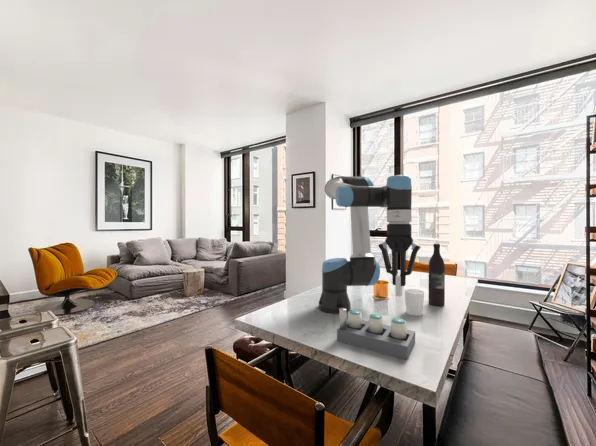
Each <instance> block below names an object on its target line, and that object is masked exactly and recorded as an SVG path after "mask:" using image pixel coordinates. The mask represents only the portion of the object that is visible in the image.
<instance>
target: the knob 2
mask: <svg viewBox="0 0 596 446" xmlns="http://www.w3.org/2000/svg"><path fill="white" fill-rule="evenodd" d="M390 326H391V336H392V337H394V338H398V339H404V338H406V329H407V321H406V320H405V319H403V318H400V317H395V318H392V319H391V320H390Z"/></svg>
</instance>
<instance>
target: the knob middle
mask: <svg viewBox="0 0 596 446" xmlns="http://www.w3.org/2000/svg"><path fill="white" fill-rule="evenodd" d="M368 321H369V331H370V332H372V333H382V332H383V325H384V316H383V315H381V314H379V313H372V314H369V315H368Z"/></svg>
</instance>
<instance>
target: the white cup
mask: <svg viewBox="0 0 596 446" xmlns="http://www.w3.org/2000/svg"><path fill="white" fill-rule="evenodd" d="M424 299H425V292H424V290H421V289H416V288H406V289H404V300H405V301H404V302H405V313H406V314H407V315H410V316H413V317H414V316H415V317H418V316H419V317H420V316H422V315H423V311H424Z"/></svg>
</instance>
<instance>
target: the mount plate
mask: <svg viewBox="0 0 596 446" xmlns="http://www.w3.org/2000/svg"><path fill="white" fill-rule="evenodd" d="M336 341H337V342H339V343H344V344H349V345H351V346H355V347H358V348H362V349H366V350H370V351H373V352H378V353H381V354H383V355H388V356H391V357H396V358H399V359H402V360H406V361H408V360H409V358H410V355H411V353H412V351H413V349H414V346H415V344H416V330H415V331H414V330H411V329H410V330H409V329H407V328H406V338H404V339H398V338H394V337H392V336H391V325H387V324H383V332H382V333H372V332H370V331H369V320H365V319H362V327H361V328H351V327H349V326H348V320H346V330H340V329H339V327H338V328H337V329H336Z"/></svg>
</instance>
